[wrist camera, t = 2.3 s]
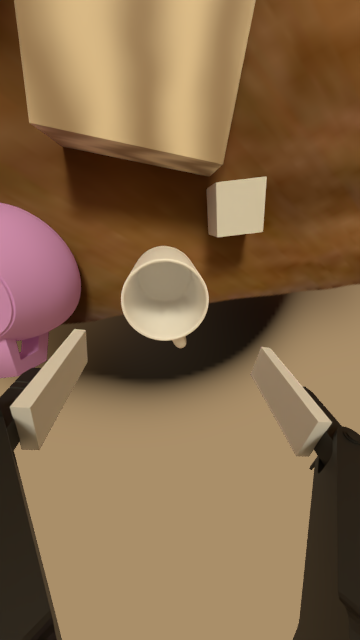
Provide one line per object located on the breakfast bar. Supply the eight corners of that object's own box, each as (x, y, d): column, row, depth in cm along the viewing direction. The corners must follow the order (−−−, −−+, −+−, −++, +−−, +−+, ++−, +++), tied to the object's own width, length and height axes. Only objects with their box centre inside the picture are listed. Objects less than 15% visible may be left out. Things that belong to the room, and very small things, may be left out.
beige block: (208, 234, 27) (217, 237, 22) (206, 188, 24) (216, 182, 20) (246, 229, 27) (262, 231, 22) (247, 184, 24) (266, 176, 20)
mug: (203, 317, 32) (220, 358, 23) (152, 331, 32) (148, 375, 23) (186, 237, 27) (199, 247, 17) (125, 254, 27) (106, 272, 18)
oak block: (62, 146, 22) (29, 122, 16) (41, -133, 15) (-28, -334, 9) (209, 176, 24) (222, 164, 18) (250, -55, 17) (291, -182, 12)
